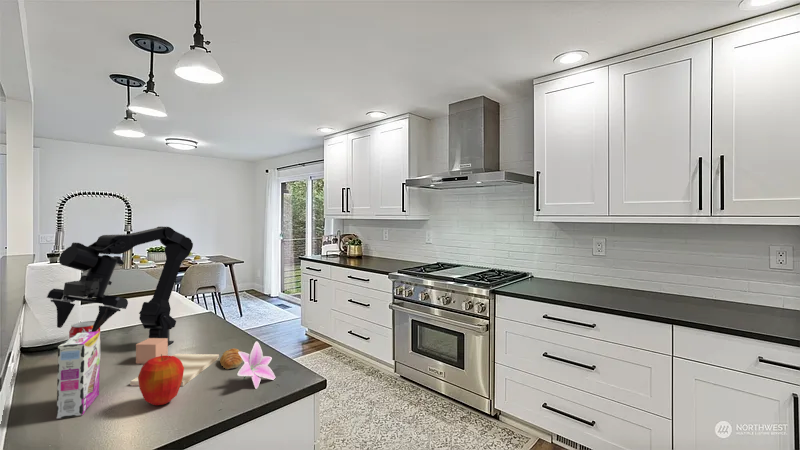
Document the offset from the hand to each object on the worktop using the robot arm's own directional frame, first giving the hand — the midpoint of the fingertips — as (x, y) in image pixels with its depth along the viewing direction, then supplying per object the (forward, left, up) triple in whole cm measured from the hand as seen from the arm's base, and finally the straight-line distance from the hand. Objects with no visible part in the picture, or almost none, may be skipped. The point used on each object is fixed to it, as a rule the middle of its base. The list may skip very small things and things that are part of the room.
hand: (76, 329), depth 104 cm
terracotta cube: (-13, +13, -13) cm, 23 cm away
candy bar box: (+16, +15, -13) cm, 26 cm away
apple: (+14, +33, -13) cm, 38 cm away
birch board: (-5, +26, -13) cm, 29 cm away
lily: (+2, +51, -14) cm, 53 cm away
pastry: (-11, +39, -14) cm, 43 cm away
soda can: (-7, -3, -13) cm, 15 cm away
